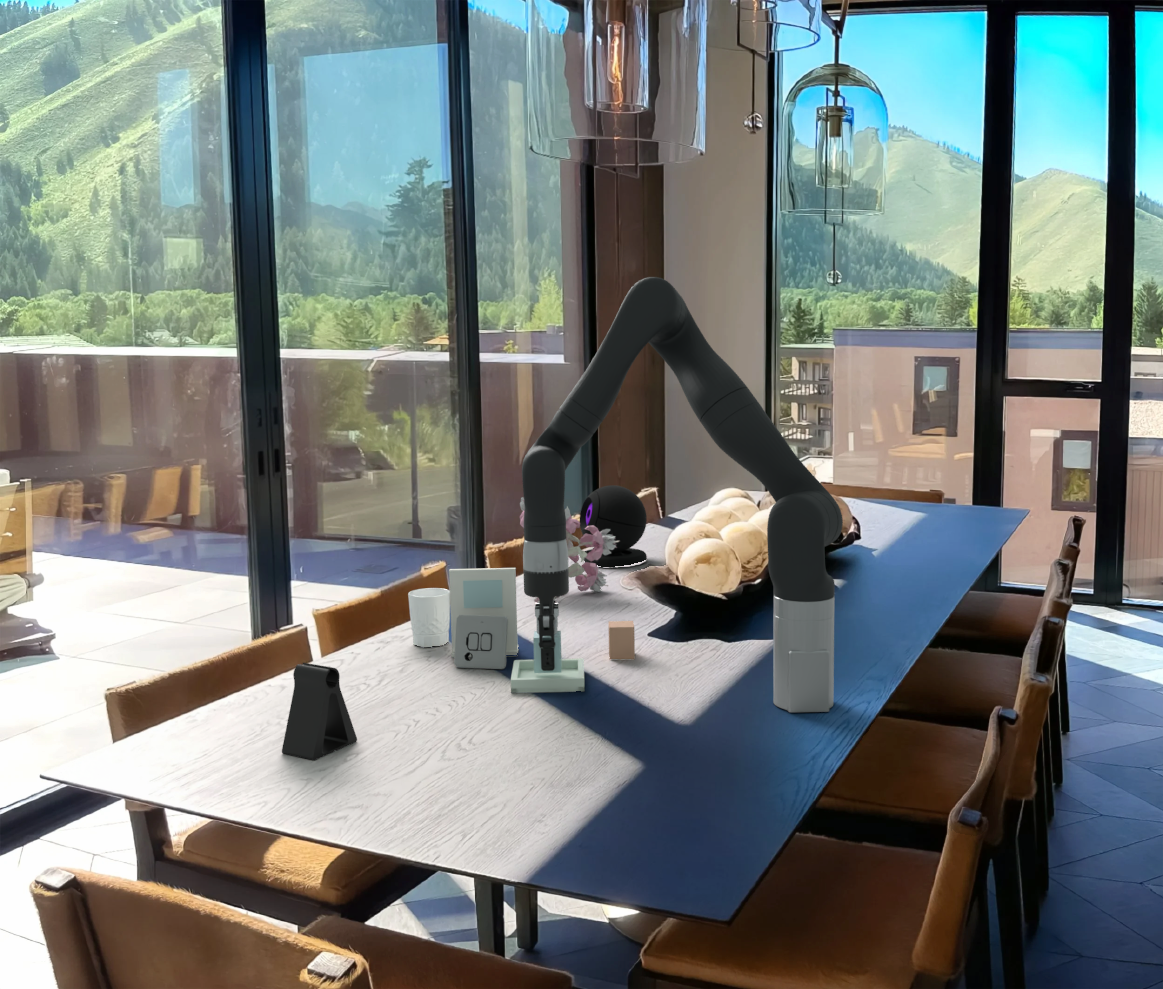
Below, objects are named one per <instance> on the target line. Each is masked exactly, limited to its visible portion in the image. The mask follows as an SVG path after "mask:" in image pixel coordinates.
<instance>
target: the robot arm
mask: <svg viewBox="0 0 1163 989" xmlns="http://www.w3.org/2000/svg"><path fill="white" fill-rule="evenodd" d="M647 344H649V345H650V346H651V347H652V348H653V350H655V351H656V353H657V354H658V355H659V356H660V357H661V358H662V359H663V361H664V362H665V363H666V364H667V366H669V368H670V369H671V371H672V372H673V373H674V375H675V377H676V379H677V381H678V382H679V385H680V387H681V389H682V392H683V393H684V395H685V398H686V399H687V402H688V403H689V406H690V408H691V409H692V411H693V413H694V415H695V416H696V417H697V419H698V421H699V422H700V423H701V425H702V426H703V428H704V430H706V432H707V434H708V435H709V437H710V438H711V439H712V441H713V442H714V444H716V445H717V447H719V449H720V450H721V451H722V452H723V453H725V454H726V455H727V456H728V457H729V458H731V459H732V460H733V461H734V462H736V463H737V464H738V465H740V466H741V467H742V468H743V469H745V470H746V471H747V472H749V473H750V474H751V475H752V476H754V477H755V478H756V479H757V480H758V481H759V482H760V483H761V484H762V486H764V488H765V489H766V490H767V492H768V493H769V495H770V496H771V497H772V498H773V500H774V501H775V503H774V505H772V507H771V509H770V512H769V514H768V518H767V528H766V531H767V532H766V534H767V537H766V539H767V540H766V541H767V564H768V573H769V577H770V580H771V583H772V586H773V621H772V622H773V623H772V624H773V625H772V627H773V628H772V629H773V631H772V632H773V633H772V634H773V647H772V648H773V652H772V654H773V664H772V665H773V668H772V669H773V670H772V672H773V676H772V678H773V679H772V680H773V684H772V685H773V688H772V689H773V700H772V702H773V704H774V705H775V706H776V707H778V708H780V709H783V710H785V711H787V712H788V713H820V712H821V713H823V712H825V713H827V712H828V713H829V712H830V709H831V708H832V707H833V706H834V694H835V693H834V690H835V689H834V688H835V687H834V685H835V683H834V682H835V679H834V675H835V674H834V673H835V671H834V670H835V664H834V663H835V595H836V594H835V587H836V586H835V580H834V577H833V576H831V575H830V574H828V571H827V569H826V559H825V558H826V556H825V552H826V551H825V547H828V546H830V545H831V544H833V543H834V542H835V541H836V540H837V539H838V538H839V537H840V535H841V533H842V530H843V525H844V524H843V523H844V519H843V515H842V511H841V508H840V505H839V504H838V502H837V500H836V499H835V498H834V497H833V496H832V494H831V493H830V492H829V491H828V490H827V489H826V488H825V486H823V484H822V483H821V482H820V481H819V480H818V479H817V478H816V476H814V475H813V474H812V472H810V470H809V469H808V468H807V467H806V465H805V464H804V463H803V462H802V460H800V458H799V457H798V456H797V455H796V454H795V452H794V450H793V449H792V448H791V447H790V445H789V443H788V442H787V441H786V440H785V438H784V436H783V435H782V434H781V432H780V431H779V430H778V428H777V427H776V425H775V423H774V422H773V421H772V420H771V418H770V417H769V415H768V414H767V413H766V411H765V410H764V408H763V407H762V405H761V404H760V402H759V401H758V400H757V398H756V397H755V395H754V394H753V393H752V391H751V390H750V389H749V387H748V386H747V384H745V382H744V380H742V378H740V376H739V375H738V374H737V373H736V372H735V370H734V369H733V368H732V367H731V366H730V365H729V364H728V363H727V362H726V361H725V360H724V359H723V358H722V357H721V356H720V355H719V354H718V353H717V352H716V351H715V350H714V349H713V348H712V347H711V345H710V343H709V342H708V340H707V339H706V338H705V336H704V334H703V332H702V331H701V329H700V328H699V326H698V324H697V323H696V320H695V319H694V318H693V316H692V313H691V311H690V310H689V308H688V306H687V304H686V302H685V300H684V299H683V297H682V295H680V293H679V292H678V291H677V289H676V288H675V287H674V286H673V285H672V284H671V283H670V282H669V281H668V280H666V279H664V278H662V277H657V276H648V277H644V278H642V279H640V280H638V281H637V282H635V283H634V284H633V285H632V286H631V288H630V289H629V290H628V292H627V294H626V296H624V299H623V301H622V303H621V305H620V307H619V309H618V311H617V313H616V316H615V317H614V320H613V321H612V323H611V326H610V328H609V330H608V331H607V333H606V335H605V337H604V338H603V340H602V342H601V343H600V346H599V347H598V348H597V351H596V353H595V355H594V356H593V357H592V359H591V362H590V363H589V364H588V366H587V368H586V369H585V371H584V372H583V374H582V375H581V376H580V378H579V379H578V381H577V382H576V384H575V385H574V387H573V388H572V390H571V391H570V393H568V395H567V397H566V398H565V400H564V401H563V403H562V404H561V405H560V407H559V408H558V410H556V412H555V414H554V415H553V418H552V419H551V421H550V423H549V424H548V426H547V427H546V428H545V430H544V431H543V432H542V433H541V434H540V435H539V437H538V438H537V439H536V440H535V442H533V444H532V446H531V447H530V448H529V450H528V451H527V453H526V454H525V456H524V458H523V460H522V464H521V478H522V493H523V498H524V504H525V511H524V528H523V539H524V541H523V551H522V562H523V563H522V564H523V566H522V570H523V592H524V594H525V595H526V596H527V597H531V598H537V597H538V598H539V600H540V601H539V602H537V603H535V602H534V603H535V606H534V616H535V617H536V631H537V633H538V634H539V642H540V643H539V647H540V649H541V669H542V670H543V671H552V670H554V668H555V662H554V648H555V646H556V643H555V634H557V631H558V628H559V627H558V626H559V623H558V621H559V619H558V618H559V615H560V614H559V613H560V610H559V609H560V605H559V602H556V600H555V599H556V597H558V598H559V597H563V596H566V595H567V594H569V591H570V577H569V568H568V567H569V557H568V548H567V540H566V516H565V509H566V508H565V489H566V484H565V483H566V470H567V469H568V467H569V465H570V464H571V462H572V461H573V460H574V458H575V457H576V455H577V453H579V451H580V449H581V448H582V447H583V446H584V445H585V444H587V443H588V442H589V441H590V439H591V438H592V437H593V436H594V434H595V433H596V431H597V430H598V429H599V427H600V426H601V424H602V423H603V421H604V420H605V419H606V417H607V415H608V414H609V412H610V411H611V409H612V407H613V405H614V403H615V401H616V399H617V397H618V395H619V393H620V390H621V389H622V386H623V384H624V381H625V379H626V376H627V375H628V372H629V370H630V368H631V366H632V365H633V364H634V362H635V360H636V358H637V357H638V355H639V354H640V353H641V352H642V350H643V349H644V347H646V346H647ZM554 597H555V598H554ZM543 636H551V640H543Z"/></svg>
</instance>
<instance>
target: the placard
mask: <svg viewBox="0 0 1163 989" xmlns="http://www.w3.org/2000/svg"><path fill="white" fill-rule="evenodd" d="M516 570H517V568H516V567H498V568H497V567H493V568H491V567H490V568H487V567H486V568H450V569H449V570H448V573H449V574H448V575H449V591H450V630H451V631H450V632H451V633H450V634H451V636H450V637H451V654H450V655H451V658H455V640H456V622H457V617H458V616H459V615H484V616H506V617H507V619H508V627H507V648H506V655H517V653H518V654H519V649H518V647H519V644H518V643H519V642H518V641H519V640H518V612H517V611H518V610H517V607H518V605H517V603H518V602H517V574H516ZM517 656H518V655H517ZM468 657H469V658H471V657H472V655H471V654H470V655H469V656H468Z"/></svg>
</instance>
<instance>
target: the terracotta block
mask: <svg viewBox="0 0 1163 989" xmlns="http://www.w3.org/2000/svg"><path fill="white" fill-rule="evenodd" d="M607 624H608V656H609V657H610V658H609V657H608V658H609V660H610V659H631V660H635V659H636V655H635V654H636V653H635V650H636V649H635V646H636V645H635V641H636V640H635V638H636V637H635V624H634V620H623V621H622V620H618V621H617V620H615V621H614V620H613V621H611V620H609V621H608V623H607Z"/></svg>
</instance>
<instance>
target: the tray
mask: <svg viewBox="0 0 1163 989" xmlns="http://www.w3.org/2000/svg"><path fill="white" fill-rule="evenodd" d="M561 663H562V666H561V673H534V659H514V660H513V664H512V670H511V675H510V693H511V694H523V693H524V694H525V693H527V694H529V693H534V694H535V693H569V692H570V693H574V692H576V691H581V692H585V664H584V663H585V662H584V658H583V657H582V658H561Z"/></svg>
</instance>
